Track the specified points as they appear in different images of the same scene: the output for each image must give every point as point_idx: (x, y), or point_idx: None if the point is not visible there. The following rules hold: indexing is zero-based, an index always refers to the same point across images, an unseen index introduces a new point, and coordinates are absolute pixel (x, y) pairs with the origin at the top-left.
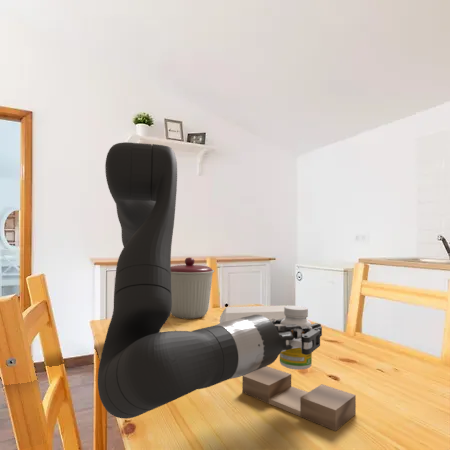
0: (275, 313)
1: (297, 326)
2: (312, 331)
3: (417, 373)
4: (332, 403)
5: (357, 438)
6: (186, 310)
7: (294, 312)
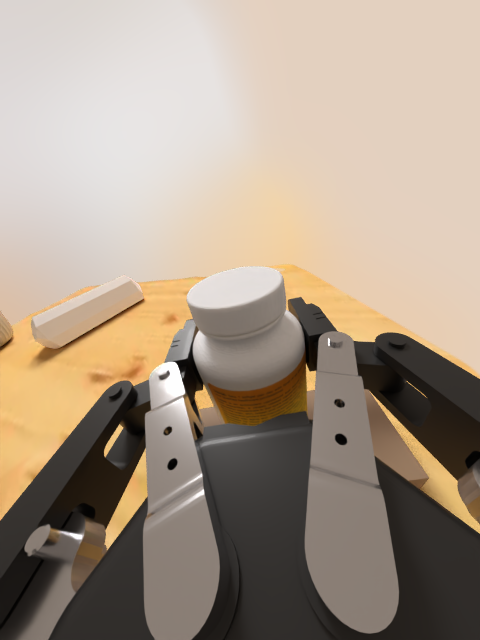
0: (115, 290)
1: (362, 392)
2: (434, 373)
3: (300, 286)
4: (388, 450)
5: (454, 479)
6: None
7: (260, 312)
